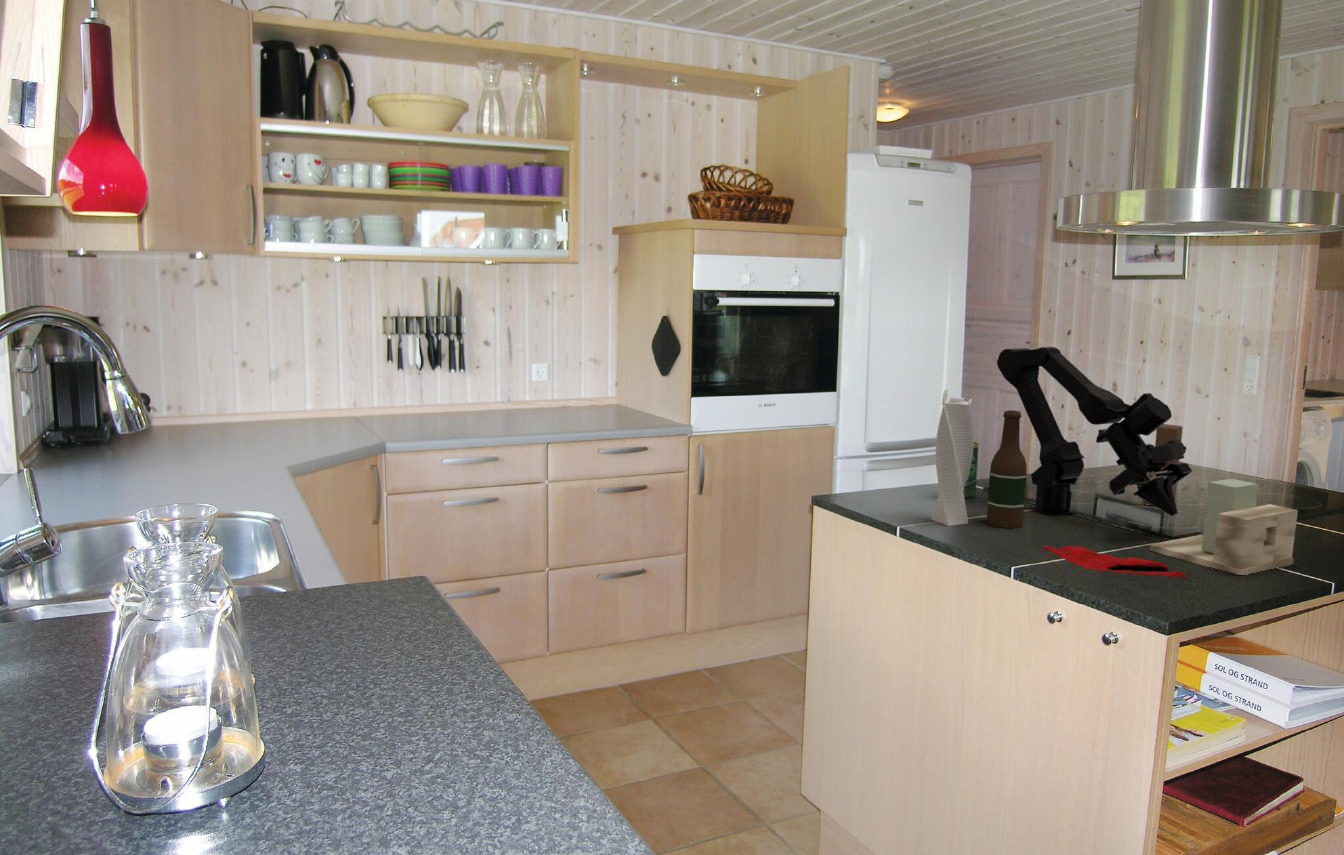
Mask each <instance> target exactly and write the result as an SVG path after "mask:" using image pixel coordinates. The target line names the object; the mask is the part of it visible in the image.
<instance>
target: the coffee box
mask: <svg viewBox="0 0 1344 855" xmlns="http://www.w3.org/2000/svg"><path fill="white" fill-rule="evenodd" d="M978 457H979V442H975V441H974V447H973V456H972V462H971V467H970V471H969V474H968V478H967V481H966V484H965V487H964V490H963V492H964V499H965V500H966V499H972V498H976V494H977V479H978V478H977V476H978V475H977V474H978V460H979V459H978Z"/></svg>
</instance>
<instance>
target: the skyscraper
mask: <svg viewBox="0 0 1344 855" xmlns="http://www.w3.org/2000/svg"><path fill="white" fill-rule="evenodd" d="M942 394H943V395H942V402H941V405H942V409H941V413H940V418H939V422H938V425H937V426H938V427H937V432H936V439H935V468H936V477H937V484H938V493H937V496H936V500H935V504H934V508H933V512H932V516H931V521H935V522H937V523H939V524H942V525H944V526H947V527H950V526H960V525H968V524H969V519H968V513H967V505H966V499H964V492H963V490H964V487H965V484H966V481H967V478H968V474H969V471H970V467H971V462H972V456H973V447H974V442H975V440H974V439H975V437H974V436H975V435H974V434H975V432H974V430H975V429H974V423H973V422H974V420H973V412H972V404H973V398H970V399H969V400H968V401H965V398H964V397H956V396H955V397H953V396H952V397H950V398H949V399H948V394H949V390H948V388H945V389H944V391H943V393H942Z"/></svg>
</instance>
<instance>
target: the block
mask: <svg viewBox="0 0 1344 855" xmlns="http://www.w3.org/2000/svg"><path fill="white" fill-rule="evenodd" d="M1258 487H1259V484H1258V483H1255V482H1250V481H1245V480H1240V479H1234V478H1226V479H1221V480H1214V481H1209V482H1208V486H1207V494H1206V503H1205V504H1206V505H1205V511H1204V512H1205V514H1204V522H1203V532H1202V535H1203V539H1202V548H1201V550H1203V551H1207V552H1211V553H1214V548H1215V539H1216V530H1217V521H1218V513H1224V512H1229V511H1235V510H1240V509H1246V508H1252V507H1257V496H1258V489H1259V488H1258ZM1267 536H1268V531H1267V529H1265V536H1264V541H1265V540H1266V539H1267Z"/></svg>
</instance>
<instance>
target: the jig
mask: <svg viewBox="0 0 1344 855" xmlns="http://www.w3.org/2000/svg"><path fill="white" fill-rule="evenodd" d="M1298 512H1299V511H1298V509H1293V508H1289V507H1285V506H1279V505H1275V504H1270V503H1269V504H1265V505H1258V506H1257V505H1256V506H1255V507H1252V508H1246V509H1240V510H1235V511H1229V512H1224V513H1218V521H1217V530H1216V539H1215V548H1214V553H1211V552H1207V551H1203V550H1201V548H1202V539H1203V534H1198V535H1193V536H1187V537H1182V538H1178V539H1172V540H1167V541H1163V542H1162V541H1161V542H1157V543H1151V544H1150V547H1149V551H1150V552H1153V553H1157V554H1161V555H1163V556H1168V557H1171V556H1172V558H1174V557H1175V558H1174V559H1178V558H1179V560H1181V559H1182V561H1185V560H1186V562H1188V563H1192V564H1196V565H1200V566H1203V567H1206V568H1209V567H1212V568H1211V569H1213V568H1215V569H1214V570H1216V569H1219V570H1218V571H1220V570H1222V571H1221V572H1223V571H1227V572H1230V573H1234V574H1237V575H1247V576H1249V575H1248V574H1251V573H1255V574H1257V573H1256V572H1259V573H1261V572H1260V571H1263V572H1266V571H1265V570H1268V569H1272V570H1275V569H1274V568H1276V569H1278V568H1277V567H1280V568H1284V566H1285V567H1288V566H1292V564H1293V565H1294V557H1293V553H1294V552H1293V551H1294V543H1295V535H1296V529H1297V528H1296V527H1297V522H1298V521H1297V519H1298ZM1265 529H1267V531H1268V536H1267V539H1266V540H1265V541H1264V536H1265ZM1268 571H1269V570H1268ZM1227 572H1226V573H1227ZM1230 573H1229V574H1230ZM1234 574H1233V575H1234ZM1237 575H1236V576H1237ZM1251 575H1252V574H1251Z"/></svg>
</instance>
